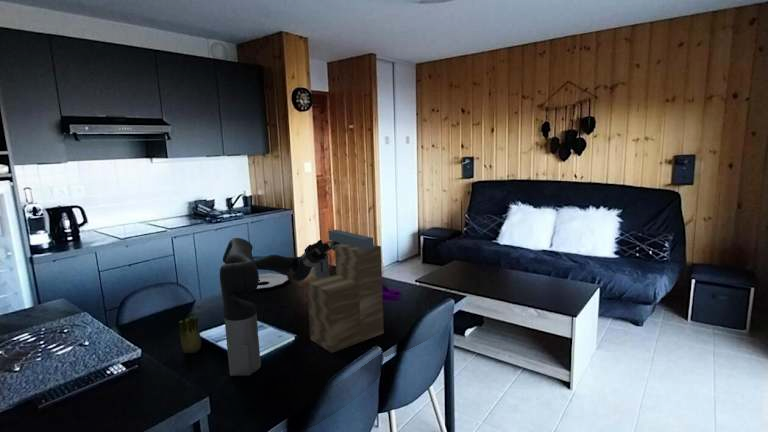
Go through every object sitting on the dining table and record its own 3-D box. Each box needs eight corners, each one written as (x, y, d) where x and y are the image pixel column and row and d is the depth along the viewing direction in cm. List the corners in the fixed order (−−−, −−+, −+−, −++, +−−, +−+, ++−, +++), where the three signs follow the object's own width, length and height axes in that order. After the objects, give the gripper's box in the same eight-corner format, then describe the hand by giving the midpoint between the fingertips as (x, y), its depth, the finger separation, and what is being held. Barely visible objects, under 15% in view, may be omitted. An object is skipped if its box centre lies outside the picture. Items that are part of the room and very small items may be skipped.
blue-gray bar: (373, 247, 146) (373, 237, 145) (365, 249, 143) (364, 239, 143) (336, 238, 163) (336, 229, 163) (329, 239, 161) (328, 230, 161)
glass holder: (324, 272, 232) (322, 245, 229) (338, 278, 221) (337, 250, 219) (310, 276, 226) (308, 248, 224) (324, 281, 215) (322, 253, 213)
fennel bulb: (181, 356, 140) (177, 321, 138) (184, 349, 145) (180, 316, 143) (200, 353, 141) (197, 319, 140) (202, 347, 146) (199, 314, 144)
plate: (237, 280, 224) (237, 276, 224) (286, 274, 232) (286, 271, 231) (236, 294, 201) (236, 290, 200) (290, 288, 208) (290, 284, 208)
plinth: (383, 333, 153) (380, 246, 148) (331, 352, 139) (326, 257, 134) (360, 321, 163) (357, 240, 158) (310, 339, 150) (304, 250, 145)
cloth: (356, 304, 184) (355, 290, 183) (363, 290, 202) (363, 278, 201) (407, 305, 181) (407, 291, 180) (410, 291, 199) (410, 278, 198)
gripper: (331, 260, 181) (349, 246, 169) (301, 267, 172) (317, 252, 160) (325, 244, 183) (342, 228, 171) (295, 249, 174) (311, 234, 162)
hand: (330, 240), depth 165 cm, fingers open, 8 cm apart
